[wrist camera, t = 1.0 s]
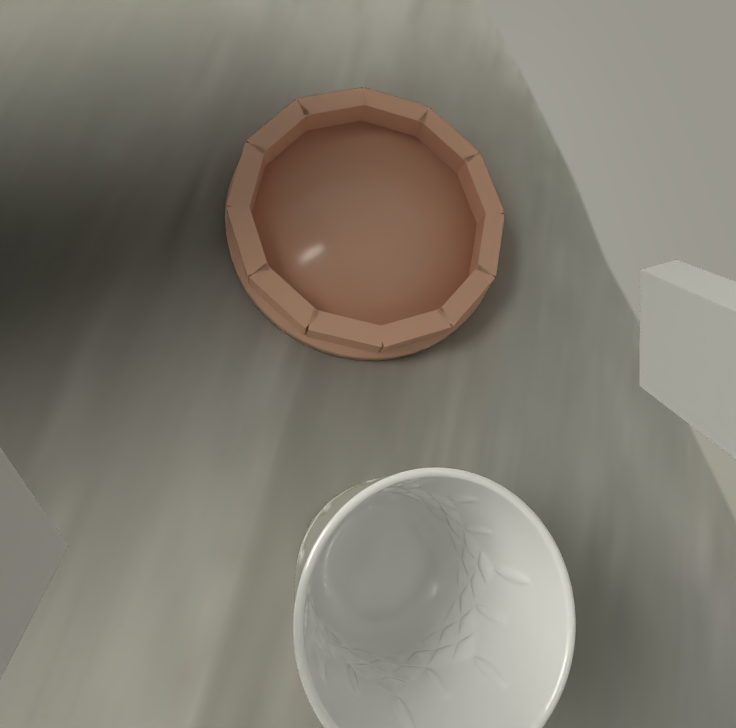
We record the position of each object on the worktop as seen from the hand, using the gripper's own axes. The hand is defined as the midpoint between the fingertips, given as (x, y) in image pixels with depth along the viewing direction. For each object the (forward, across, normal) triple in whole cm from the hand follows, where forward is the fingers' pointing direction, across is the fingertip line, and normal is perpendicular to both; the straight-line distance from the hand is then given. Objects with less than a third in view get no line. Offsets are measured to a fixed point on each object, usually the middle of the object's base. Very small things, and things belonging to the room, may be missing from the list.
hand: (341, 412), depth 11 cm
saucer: (+18, +3, 0) cm, 18 cm away
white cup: (+8, -1, -13) cm, 15 cm away
